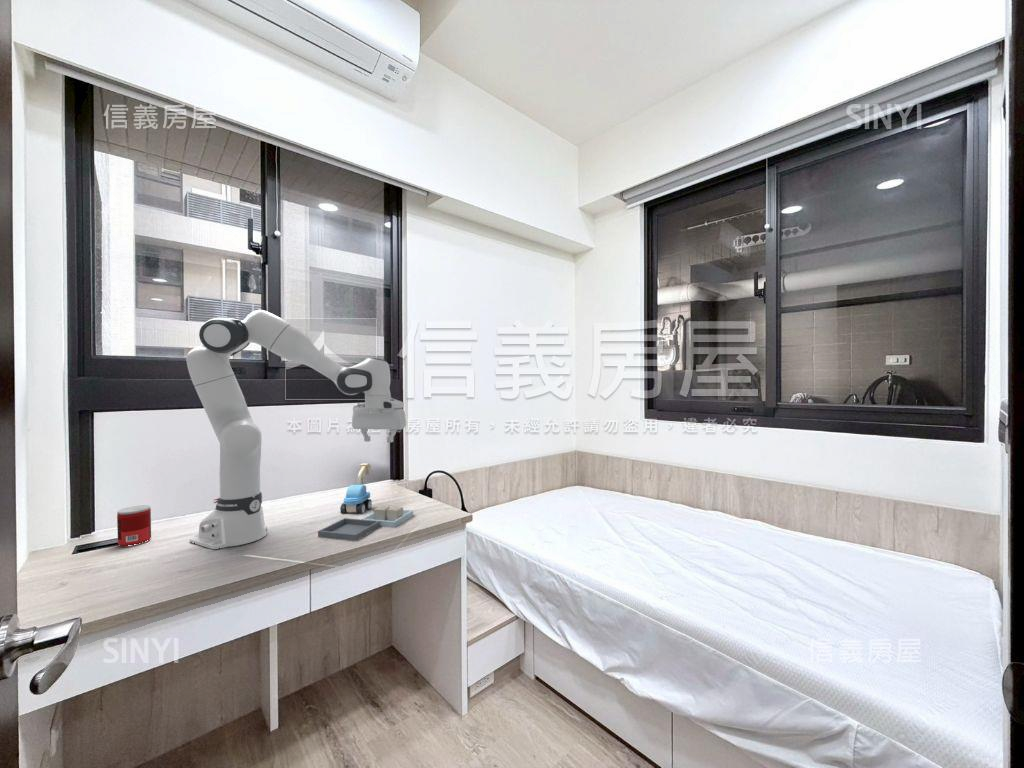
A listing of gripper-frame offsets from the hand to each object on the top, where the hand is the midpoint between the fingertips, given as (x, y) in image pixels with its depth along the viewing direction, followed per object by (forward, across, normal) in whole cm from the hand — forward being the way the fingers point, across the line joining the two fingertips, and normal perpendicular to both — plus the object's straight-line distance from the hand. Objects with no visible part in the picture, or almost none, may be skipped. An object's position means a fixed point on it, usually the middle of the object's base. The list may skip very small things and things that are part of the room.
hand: (378, 441), depth 149 cm
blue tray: (+29, +2, +2) cm, 29 cm away
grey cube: (+28, +5, +3) cm, 29 cm away
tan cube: (+28, 0, +2) cm, 29 cm away
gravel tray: (+29, -4, -12) cm, 32 cm away
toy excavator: (+29, -17, +12) cm, 36 cm away
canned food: (+29, -67, -35) cm, 81 cm away
